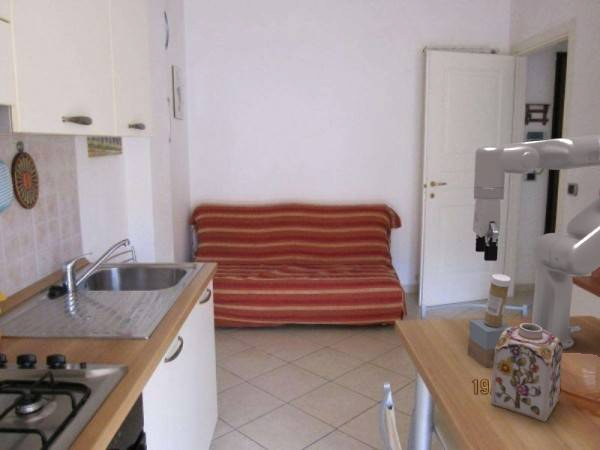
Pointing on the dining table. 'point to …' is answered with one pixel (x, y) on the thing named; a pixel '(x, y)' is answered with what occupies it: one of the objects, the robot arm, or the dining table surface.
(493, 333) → the slate top block
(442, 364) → the dining table surface
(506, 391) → the decorative jar
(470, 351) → the walnut base block
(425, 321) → the dining table surface
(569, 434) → the dining table surface
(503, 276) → the sprinkles bottle
